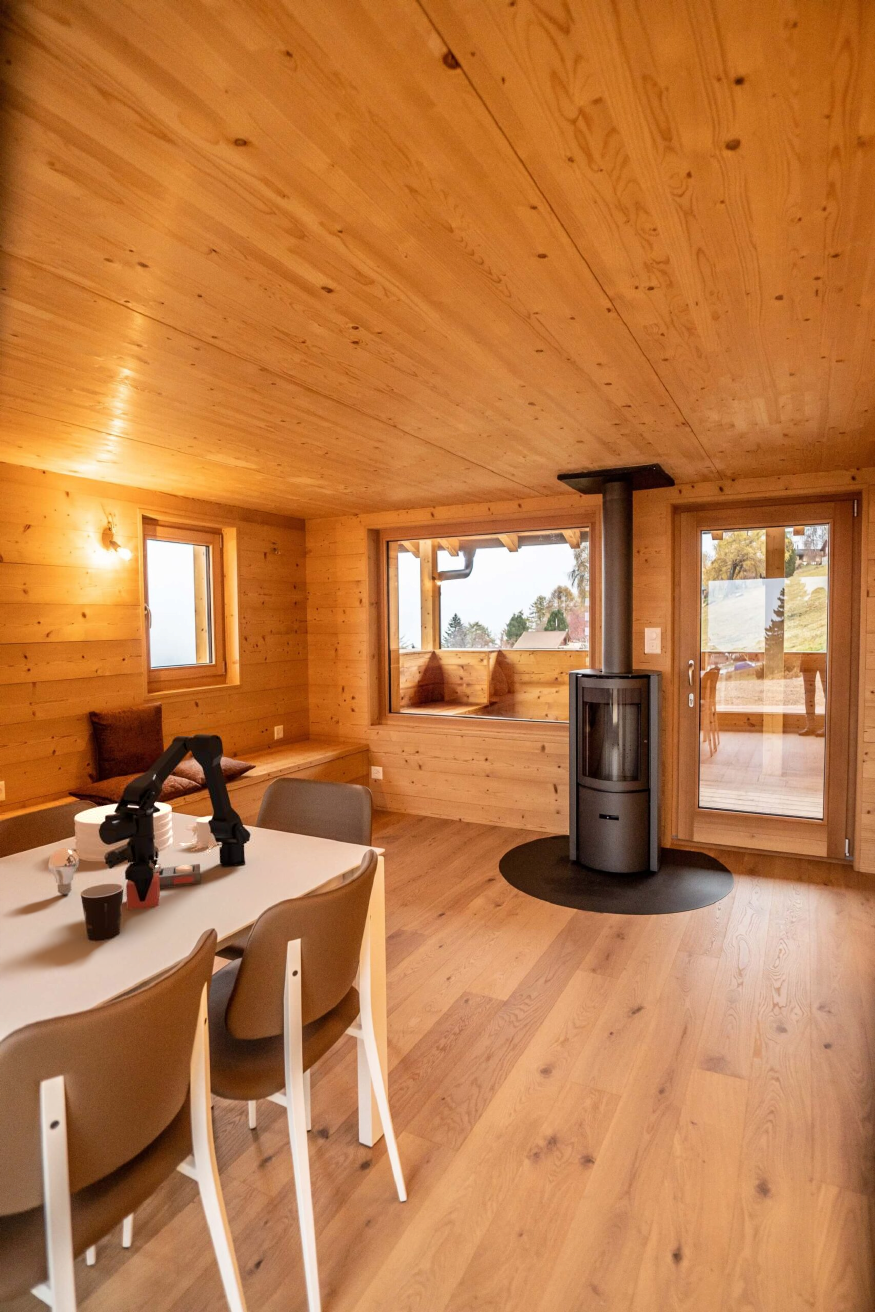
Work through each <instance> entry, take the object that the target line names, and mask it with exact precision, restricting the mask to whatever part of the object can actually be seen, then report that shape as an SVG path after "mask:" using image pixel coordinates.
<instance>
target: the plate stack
mask: <svg viewBox="0 0 875 1312" xmlns="http://www.w3.org/2000/svg"><path fill="white" fill-rule="evenodd" d="M117 805H118V803H113V804H107V805H103V806H102V805H101V806H96V807H93V808H89V809H87V810H86V809H85V810H83V811H81V812H79V813H77V814H76V815H74V818H73V819H74V823H75V824H74V832H75V833H74V840H75V842H74V843H75V845H74V846H75V852H76V854H77V855H78V858H79V860H84V861H89V862H105V858H104V856H105V854H106V853H107V852H109V851H111V850H113V849H116V848H118V847H120V846H122V845H125V844H127V842H128V841H129V839H126V840H123V841H120V842H117V843H114V844H111V845H107V844H105V843H104V842H103V841H102V840H101V838H100V836H99V829H100V826H101V824H102V822H104V821H105V816H106V815H109V814H116V813H115V812H114V811H115V809H116V807H117ZM154 805H155V806H156V807H158V808H159V809H160V812H157V813H154V814H153V817H154V834H155V840H154V845H155V846H156V847H157V848H158V853H161V852H163V851H165V850H167V849H169V848H170V847H171V846H172V845H173V843H174V842H173V830H172V829H173V823H172V820H173V816H172V809H173V808H172V806H171V805H170V804H167V803H164V802H158V801H156V802H155V804H154ZM127 807H136V808H139V807H137V806H129V805H128V806H127Z"/></svg>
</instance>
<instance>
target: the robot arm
mask: <svg viewBox="0 0 875 1312" xmlns="http://www.w3.org/2000/svg"><path fill="white" fill-rule="evenodd" d="M189 753H191V755H192V757H193V759H194V760H195V761H196V763H198V765H199V766H200V767H201V768H202V773H203V776H204V780H205V783H206V788H207V791H208V792H207V793H208V795H209V798H210V802H211V807H212V810H213V811H212V812H213V813H212V815H211V816H212V819H211V820H209V821H208V824H209V826H210V833H213V835H214V837H215V841H216V842H221V845H220V846H219V863H220V864H221V867H222V868H223V867H232V866H241V865H246V858H245V844H247V842H250V839H251V833H250V831H249V830H248V829H247V828H246V827H245V826H244V824H243V822H242V819H241V817H240V815H239V813H238V812H237V811H236V810H235V809H234V808H233V807H232V804H231V800H230V795H229V792H228V788H227V783H226V780H225V776H224V772H223V769H222V764H221V761H222V757H223V756H224V747H223V741H222V737H221V736H219V735H218V734H206V733H205V734H204V733H201V734H200V733H196V734H195V735H193V737H192V736H189V735H178V736H175V737H174V738H173V739H172V742H171V743H170V744H169V746H168V747H167V748H166V749H165V750H164V752H163V753H162V754H161V755H160V756H159V757H158V759H156V761H155V762H154V763H153V764H152V766H150V768H149V769H148V770H147V771H146V772H145V773H143V774H141V775H139V776H137V777H135V778H134V779H132V781H130V782H129V783H128V784H127V785H126V786H125V787H124V788H123V791H122V795H121V797H120V799H119V800H118V803H117V804H118V805H117V807H116V809H115V811H114V812H115V813H116V814H109V815H106V816H105V821H104V822H102V824H101V826H100V829H99V836H100V838H101V840H102V841H103V842H104V843H105V844H107V845H111V844H114V843H117V842H120V841H123V840H126V839H129V841H128V842H127V844H125V845H122V846H120V847H118V848H116V849H113V850H111V851H109V852H107V853H106V854H105V856H104V858H105V861H104V863H105V865H107V867H108V869H110V870H111V869H113V868H115V867H116V866H117V865H118V866H119V865H120V864H123V863H124V862H127V864H129V865H128V866H127V867H126V868H125V871H124V875H125V876H124V877H125V880H127V881H128V880H130V881H132V882H134V884H135V887H136V890H137V893H138V897H139V900H140V902H142V901H145V899H146V896H147V893H148V890H149V888H150V885H151V882H152V879H153V877H154V870H155V867H156V864H157V863H158V858H159V855H160V854H159V853H160V852H158V848H157V847H156V846H155V845H154V840H155V834H154V817H153V814H154V813H157V812H160V809H159V808H158V807H156V806H155V805H154V804H155V802H158V801H157V800H158V799H159V797H160V796H161V794H162V791H163V785H164V783H165V781H167V779H168V778H169V777H170V776H171V774H172V773H173V772H174V771H175V770H176V769H177V767H178V766H179V765H180V764H181V763H182V761H183V760H184V759H185V758H186V757H187V755H188V754H189ZM128 805H129V806H137V807H139V808H136V807H127V806H128Z"/></svg>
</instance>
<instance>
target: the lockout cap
mask: <svg viewBox="0 0 875 1312" xmlns="http://www.w3.org/2000/svg"><path fill="white" fill-rule="evenodd" d="M125 887H126V889H125V890H126V909H127V910H131V909H140V908H148V907H149V908H150V907H155V906H159V903H160V902H159V901H160V898H161V890H160V889H161V888H160V880H159V873H154V877H153V879H152V882H151V885H150V888H149V890H148V893H147V896H146V899H145V901H142V902H140V900H139V897H138V893H137V890H136V887H135V884H134V882H132V881H130V880H127V882H126V885H125Z"/></svg>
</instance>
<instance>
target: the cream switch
mask: <svg viewBox="0 0 875 1312" xmlns="http://www.w3.org/2000/svg"><path fill="white" fill-rule="evenodd" d="M191 865H192V864H187V865H186V864H183V865H178V866H179V867H176V868H175V874H178V873H187V872H193V866H191Z"/></svg>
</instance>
